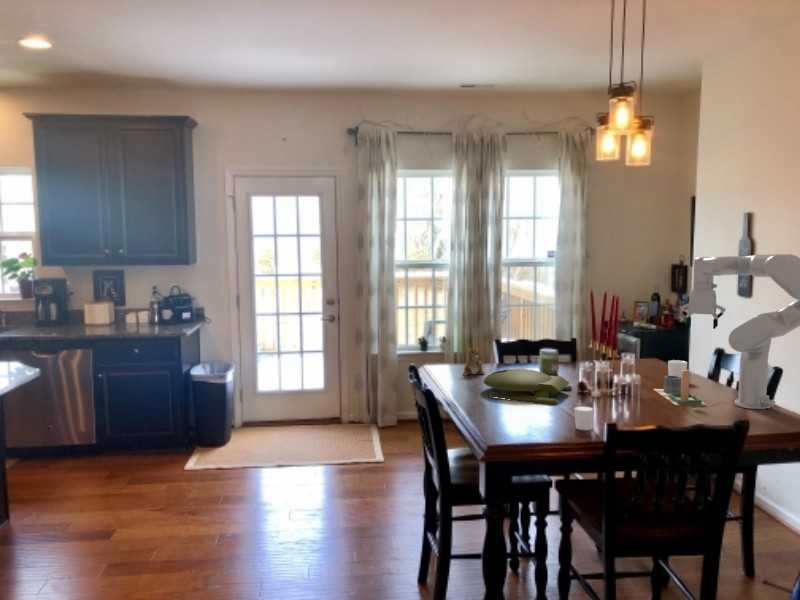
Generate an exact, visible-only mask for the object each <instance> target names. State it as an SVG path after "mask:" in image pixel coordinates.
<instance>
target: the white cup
mask: <svg viewBox="0 0 800 600" xmlns="http://www.w3.org/2000/svg"><path fill="white" fill-rule="evenodd" d="M667 363H668V365H667V366H668V367H667V368H668V373H667V374H668V376H679V377H681V378H682V370H688V362H687V361H685V360H679V359H677V360H675V359H671V360H668V361H667Z"/></svg>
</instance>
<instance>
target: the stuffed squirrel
mask: <svg viewBox="0 0 800 600" xmlns="http://www.w3.org/2000/svg"><path fill="white" fill-rule="evenodd" d="M467 349H468V352H469V356H468V359H467V362H466V365H465V366H464V367H463V371H464V373H463V375H465V374H466V375H467V376H469V375H468V374H470V375H473V374H475V375H478V374H486V373H485V371H483V367H482V366H483V363H482V361H481V360H482V359H483V355H482V354H481V353H480V351H482V347H480V348H478V347H468V348H467ZM476 373H477V374H476ZM466 375H465V376H466Z"/></svg>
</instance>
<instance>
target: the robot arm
mask: <svg viewBox="0 0 800 600" xmlns="http://www.w3.org/2000/svg"><path fill="white" fill-rule="evenodd" d="M732 275H733V276H734V275H735V276H736V275H737V276H738V275H742V276H743V275H744V276H745V275H747V276H749V275H750V276H753V278H754V277H755V278H770V279H771V280H772V281H773V282H774V283H775V284H777V285H778V286H779V287H780V288H781V289H783V291H784V292H786V293H787V294H788V296H791V297H792V298H793V299H795V300H794V301H792V302H791V303H788V304H787V305H785V306H784V307H782V308H780V309H778V310H776V311H770V312H764V313H760V314H758V315H756V316H755V315H754V316H753V317H752V318H751V319H748V320H747V321H745V322H743V323H741V324H740V325H738V326H737V327H736V328H734V329H733V330H731V332H730V333H729V336H728V338H727V339H728V344H729V346H730V348H731V349H732V350H734V351H736V352H737V353H738V352H740V358H739V373H738V377H739V378H738V397H737V398H736V399H734V400H733V404H734V405H735V406H737V407H739V408H745V409H748V410H749V409H750V410H766V409H767V408H768V409H770V408H771V407H774V406H775V404H776V401H775V400H773V399H770V395H767V387H768V384H767V383H768V365H769V353H770V350H771V349H770V348H771V344H772V339H775V338H779V337H783V336H786V335H787V334H789V333H791V332H792V331H794V330H795V329H798V328H800V256H797V255H796V254H792V253H778V254H776V253H773V254H770V253H769V254H754V255H746V256H745V255H742V256H741V255H739V256H738V255H737V256H735V255H734V256H732V255H731V256H715V257H711V256H710V257H709V256H698V257H695V258H694V260H693V275H692V276H693V278H692V279H693V281H692V282H693V283H692V284H693V286H692V289H691V290H690V295H689V299H688V301H689V302H688V303H685V304H684V305H682V306H679V309H680V312H681V313H682V315H683V316H684V317H685V318H686V325H685V326H687V328H691V327H692V317H691V316H692V315H712V317H713V320H712V325H713V326H712V329H714V330H715V329H716V328H718V326H719V319H720V318H721V317H722V316H723V315H724V314H725V313H726V312H725V311H726V310H727V308H725V307H723V306H721V305H719V304H717V292H716V290H715V288H718V284H715V282H714V278H715V277H714V276H717V277H718V276H719V277H720V276H732ZM791 297H790V298H791ZM686 308H688V312H687V311H686V310H685V309H686ZM717 310H720V312H719V313H718V314H717ZM768 409H767V410H768Z"/></svg>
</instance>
